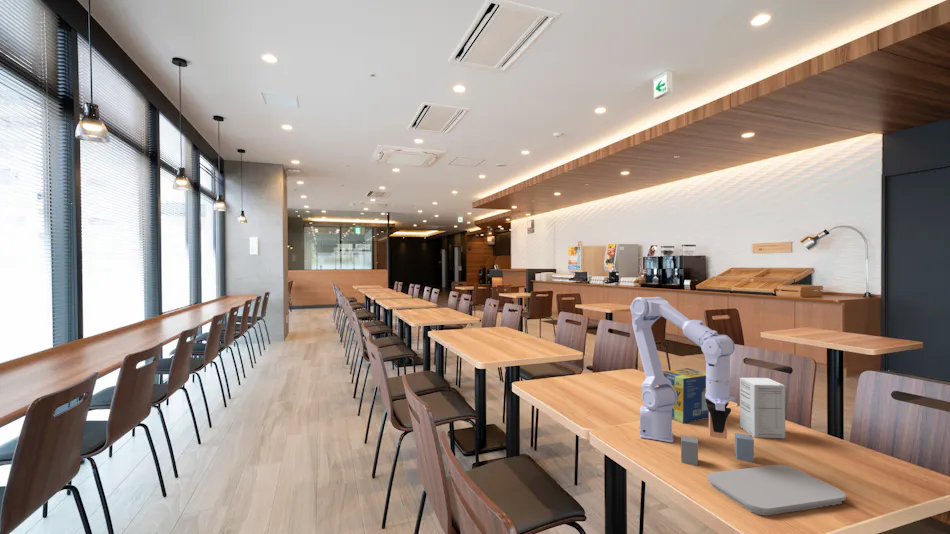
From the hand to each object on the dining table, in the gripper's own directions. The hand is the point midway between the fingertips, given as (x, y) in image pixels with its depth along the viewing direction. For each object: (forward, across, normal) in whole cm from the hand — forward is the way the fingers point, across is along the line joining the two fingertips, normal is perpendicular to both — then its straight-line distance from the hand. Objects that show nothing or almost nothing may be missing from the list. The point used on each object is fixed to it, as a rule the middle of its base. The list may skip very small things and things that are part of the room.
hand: (717, 429), depth 116 cm
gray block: (+9, -3, +7) cm, 12 cm away
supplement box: (+9, +30, -15) cm, 35 cm away
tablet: (+10, -13, -10) cm, 19 cm away
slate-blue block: (+9, +6, -7) cm, 13 cm away
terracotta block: (+2, 0, 0) cm, 2 cm away
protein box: (+9, +37, +7) cm, 39 cm away
